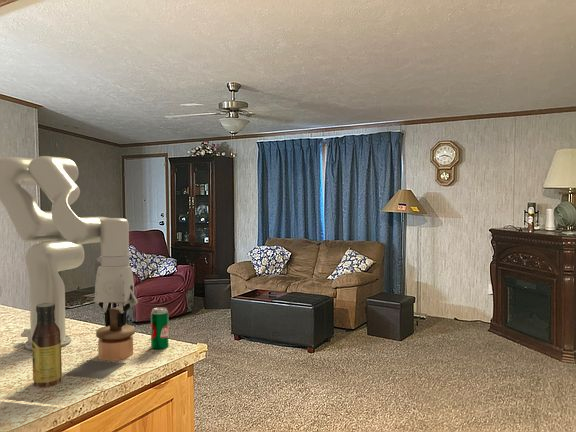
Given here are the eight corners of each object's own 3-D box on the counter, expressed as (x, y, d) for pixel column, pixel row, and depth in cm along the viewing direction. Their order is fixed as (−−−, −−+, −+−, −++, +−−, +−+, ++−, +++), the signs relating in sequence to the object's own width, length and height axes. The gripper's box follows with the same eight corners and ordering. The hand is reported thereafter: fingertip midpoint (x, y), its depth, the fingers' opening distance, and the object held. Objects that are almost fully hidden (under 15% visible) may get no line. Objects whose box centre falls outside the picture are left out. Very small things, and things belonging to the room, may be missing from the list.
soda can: (163, 351, 137) (163, 311, 137) (147, 350, 138) (147, 310, 138) (171, 346, 142) (171, 307, 142) (156, 345, 143) (155, 306, 143)
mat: (63, 376, 118) (63, 374, 118) (90, 361, 129) (90, 359, 129) (102, 380, 116) (102, 378, 116) (126, 364, 127) (126, 363, 127)
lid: (88, 337, 129) (87, 312, 129) (109, 327, 139) (109, 303, 139) (122, 340, 127) (122, 314, 127) (141, 329, 137) (141, 305, 137)
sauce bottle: (40, 379, 116) (38, 300, 115) (66, 379, 117) (64, 300, 116) (27, 390, 110) (26, 307, 109) (55, 389, 110) (54, 306, 109)
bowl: (91, 360, 130) (91, 342, 130) (110, 349, 139) (110, 332, 139) (121, 363, 128) (121, 344, 128) (139, 352, 137) (138, 334, 137)
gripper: (80, 262, 130) (81, 327, 131) (134, 264, 127) (135, 331, 128) (97, 258, 137) (97, 320, 138) (148, 260, 134) (148, 323, 135)
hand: (115, 325), depth 133 cm, fingers closed on lid, 3 cm apart
